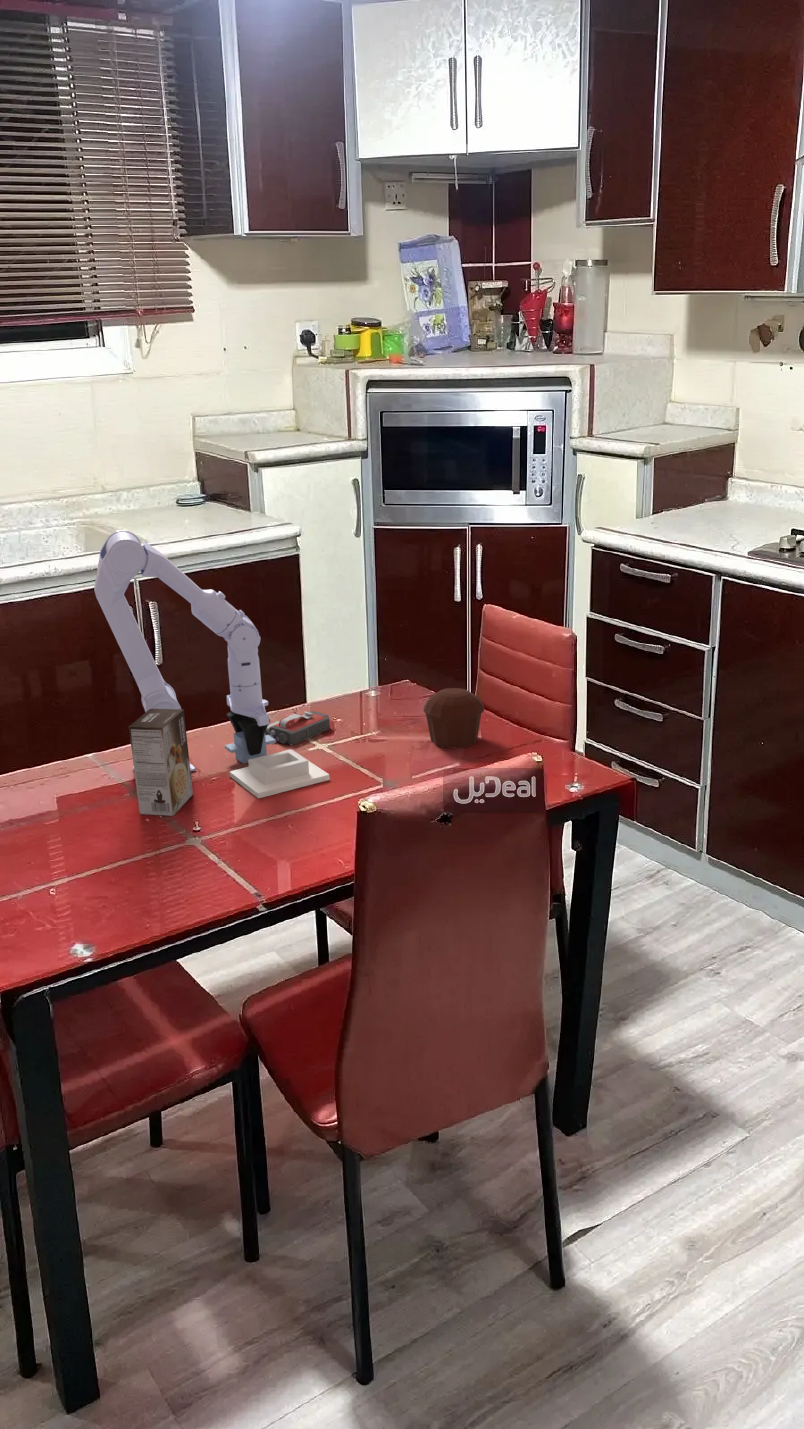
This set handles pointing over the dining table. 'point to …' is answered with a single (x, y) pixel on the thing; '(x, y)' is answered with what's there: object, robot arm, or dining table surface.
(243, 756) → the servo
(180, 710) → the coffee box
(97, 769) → the dining table surface
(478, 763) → the dining table surface
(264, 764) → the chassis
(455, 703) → the muffin
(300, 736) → the walkie-talkie
